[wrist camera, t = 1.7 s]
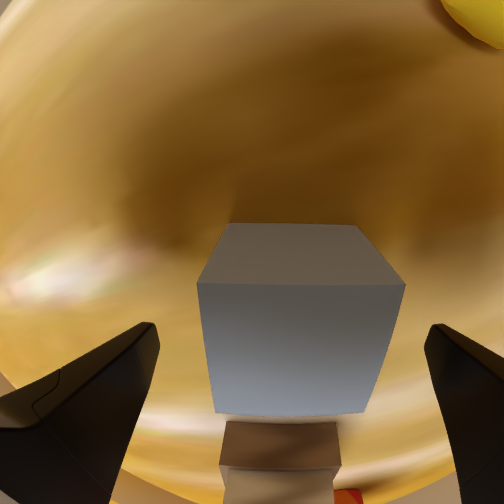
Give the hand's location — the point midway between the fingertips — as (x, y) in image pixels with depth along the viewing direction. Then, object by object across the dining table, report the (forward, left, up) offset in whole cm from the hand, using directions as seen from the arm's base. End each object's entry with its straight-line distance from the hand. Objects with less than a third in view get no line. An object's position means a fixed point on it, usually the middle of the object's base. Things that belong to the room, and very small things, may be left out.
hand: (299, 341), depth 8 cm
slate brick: (0, 0, -4) cm, 4 cm away
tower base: (-9, +11, -4) cm, 14 cm away
